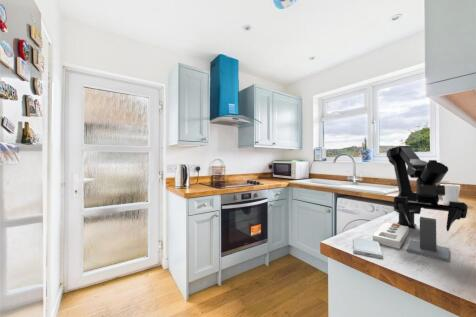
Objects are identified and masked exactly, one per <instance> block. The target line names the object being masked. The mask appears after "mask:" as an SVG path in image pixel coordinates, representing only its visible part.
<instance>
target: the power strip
mask: <svg viewBox="0 0 476 317" xmlns="http://www.w3.org/2000/svg"><path fill="white" fill-rule="evenodd" d="M397 223H398V222H397ZM397 223H396V222H392V223H391V222H390V223H389V222H385V223H384V224H383V225H381V227H379V229H377V230H376V231H375V232H374V234H373V235H372V240H374V241H378V242H379V245H383V246H389V247H391V248H395V249H399V250H400V249H401V247H402V246H403V243H404V242H405V240H406V238H407V236H408V234H409V231H410V230H409V228H410V227H407V226H402V225H400V224H397Z"/></svg>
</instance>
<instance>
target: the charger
mask: <svg viewBox="0 0 476 317" xmlns="http://www.w3.org/2000/svg"><path fill="white" fill-rule="evenodd" d="M419 242H420V249H424V250H429V251H433V252H436V245H437V219H436V218H433V217H432V218H431V217H424V216H420V217H419Z"/></svg>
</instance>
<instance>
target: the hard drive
mask: <svg viewBox="0 0 476 317" xmlns="http://www.w3.org/2000/svg"><path fill="white" fill-rule="evenodd" d="M352 243H353V246H352V247H353V248H352V250H353V253H354V254H358V255H363V256H367V257H374V258H378V259H384V254H383V252H382V249H381V244H379V242H378V241H374V240H373V239H367V238H360V237H353V239H352Z"/></svg>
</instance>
